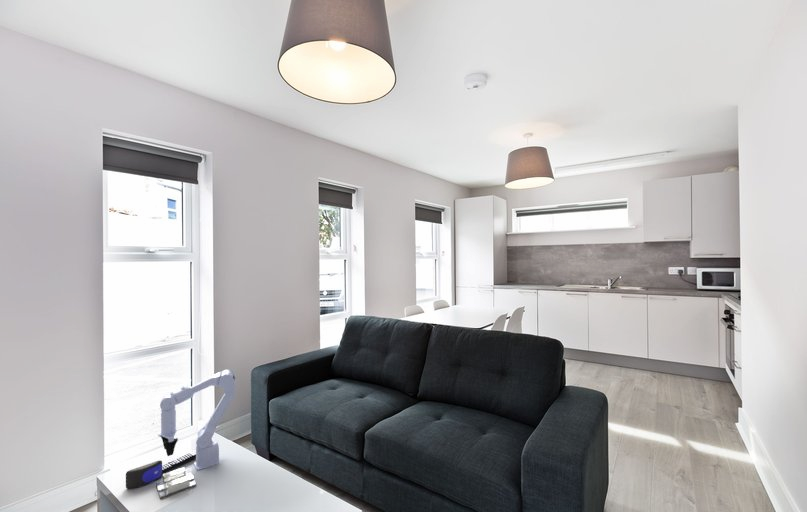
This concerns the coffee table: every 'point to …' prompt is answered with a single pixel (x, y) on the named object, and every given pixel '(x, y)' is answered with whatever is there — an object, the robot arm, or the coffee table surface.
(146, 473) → the leaning round-cornered charcoal block
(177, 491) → the rail plate
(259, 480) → the coffee table surface
